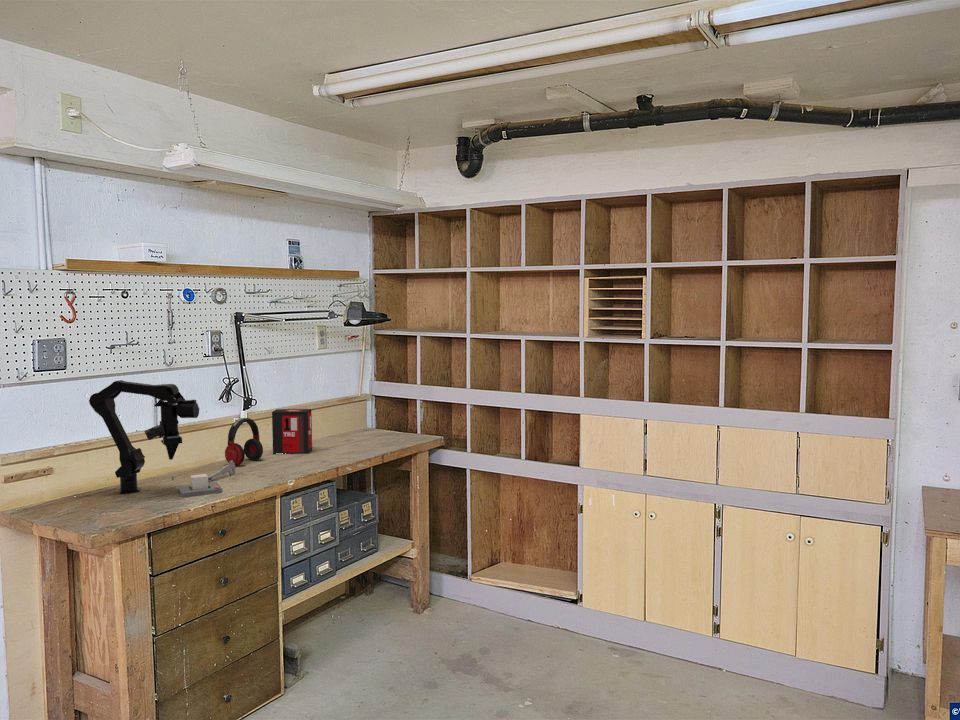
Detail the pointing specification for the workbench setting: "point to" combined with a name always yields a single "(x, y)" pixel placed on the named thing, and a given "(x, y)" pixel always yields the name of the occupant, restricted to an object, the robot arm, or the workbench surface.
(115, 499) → the workbench surface
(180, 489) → the socket
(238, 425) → the headphones
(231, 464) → the caliper
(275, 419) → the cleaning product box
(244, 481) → the workbench surface
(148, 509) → the workbench surface
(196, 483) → the plug
